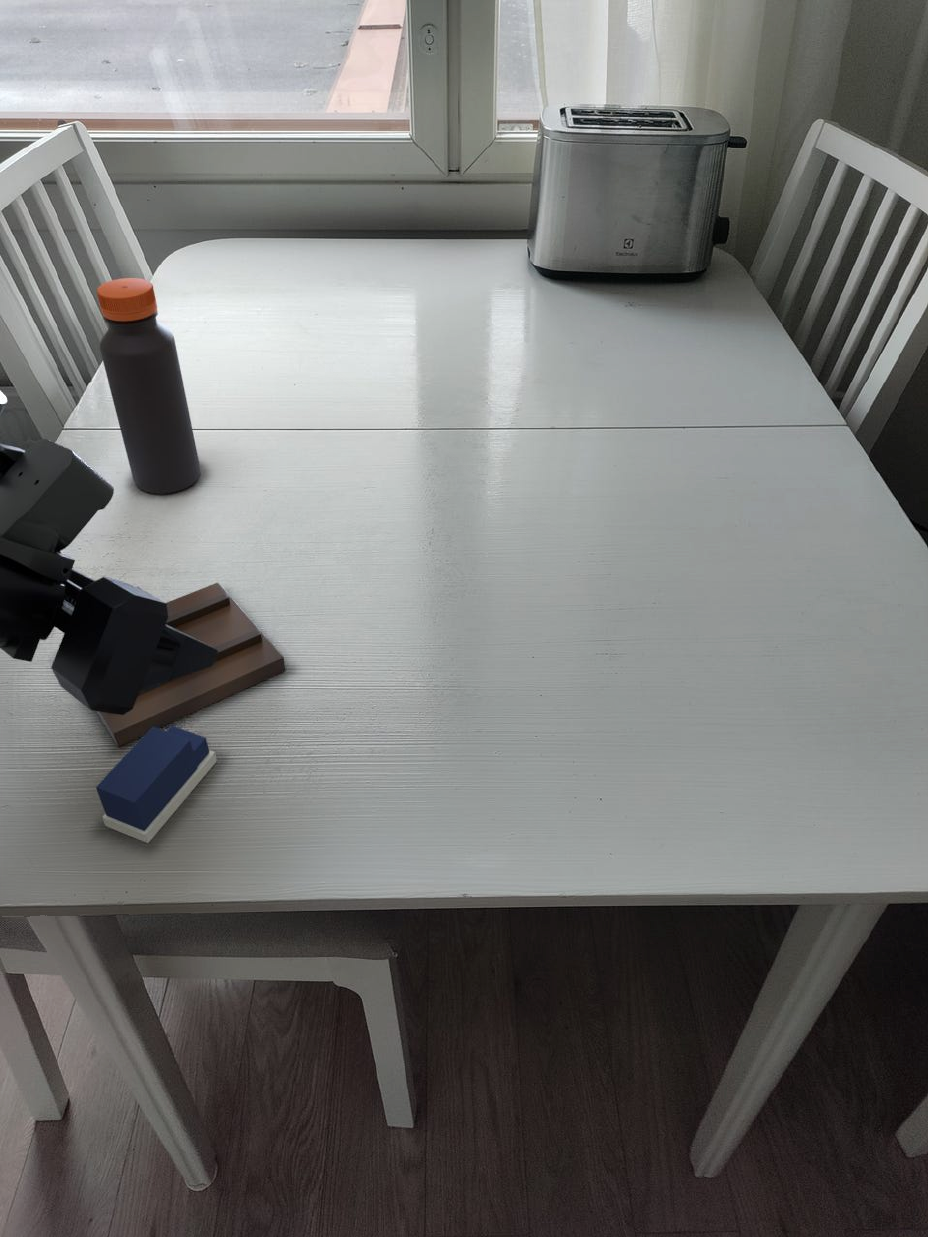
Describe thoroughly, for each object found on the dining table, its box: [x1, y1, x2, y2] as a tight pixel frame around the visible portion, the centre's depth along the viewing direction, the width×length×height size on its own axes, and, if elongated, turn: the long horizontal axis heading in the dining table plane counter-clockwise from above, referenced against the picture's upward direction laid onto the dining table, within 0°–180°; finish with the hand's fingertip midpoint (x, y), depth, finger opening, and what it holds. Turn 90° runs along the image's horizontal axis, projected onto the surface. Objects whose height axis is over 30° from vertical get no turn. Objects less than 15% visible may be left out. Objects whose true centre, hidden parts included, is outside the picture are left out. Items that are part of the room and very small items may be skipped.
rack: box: [58, 581, 287, 747], centre depth 77 cm, size 14×12×2 cm
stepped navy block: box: [95, 725, 218, 844], centre depth 66 cm, size 8×4×4 cm, turn 157°
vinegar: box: [96, 277, 201, 495], centre depth 93 cm, size 7×7×20 cm
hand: (173, 633), depth 60 cm, fingers open, 9 cm apart
